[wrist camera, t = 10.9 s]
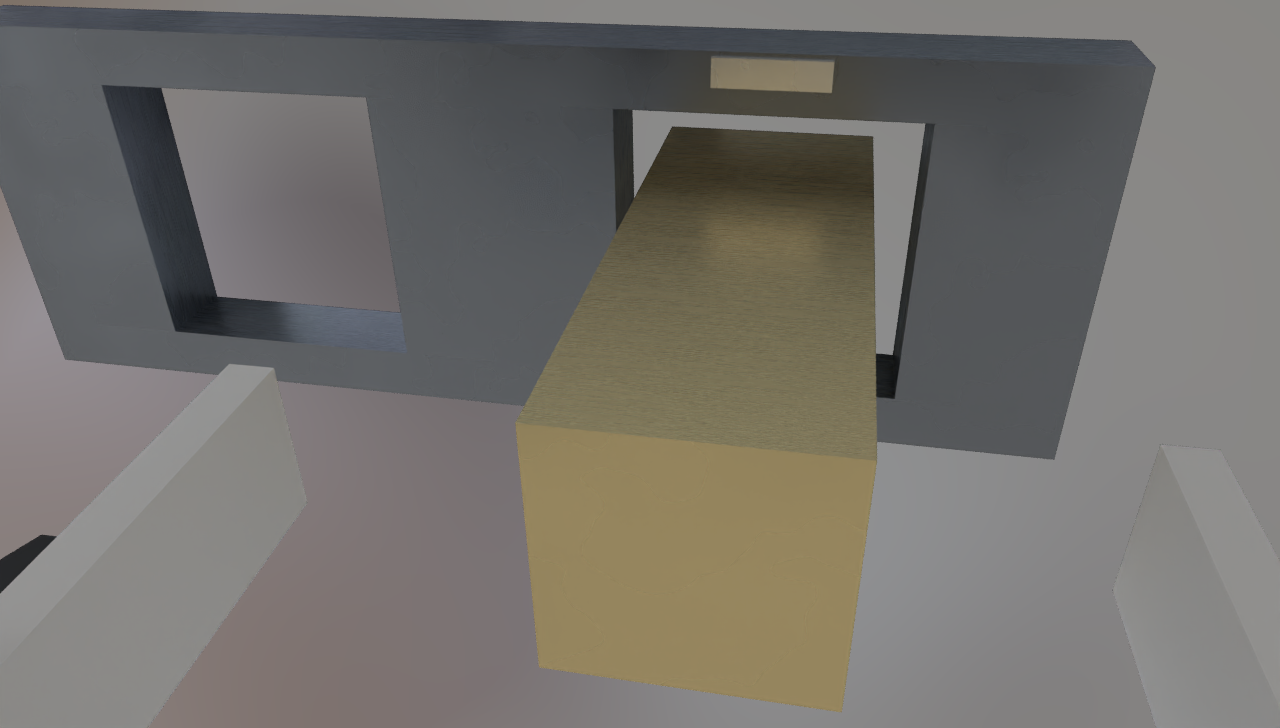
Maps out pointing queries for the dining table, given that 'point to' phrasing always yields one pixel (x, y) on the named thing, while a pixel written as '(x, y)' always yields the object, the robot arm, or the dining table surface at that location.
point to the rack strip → (565, 192)
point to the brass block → (714, 427)
